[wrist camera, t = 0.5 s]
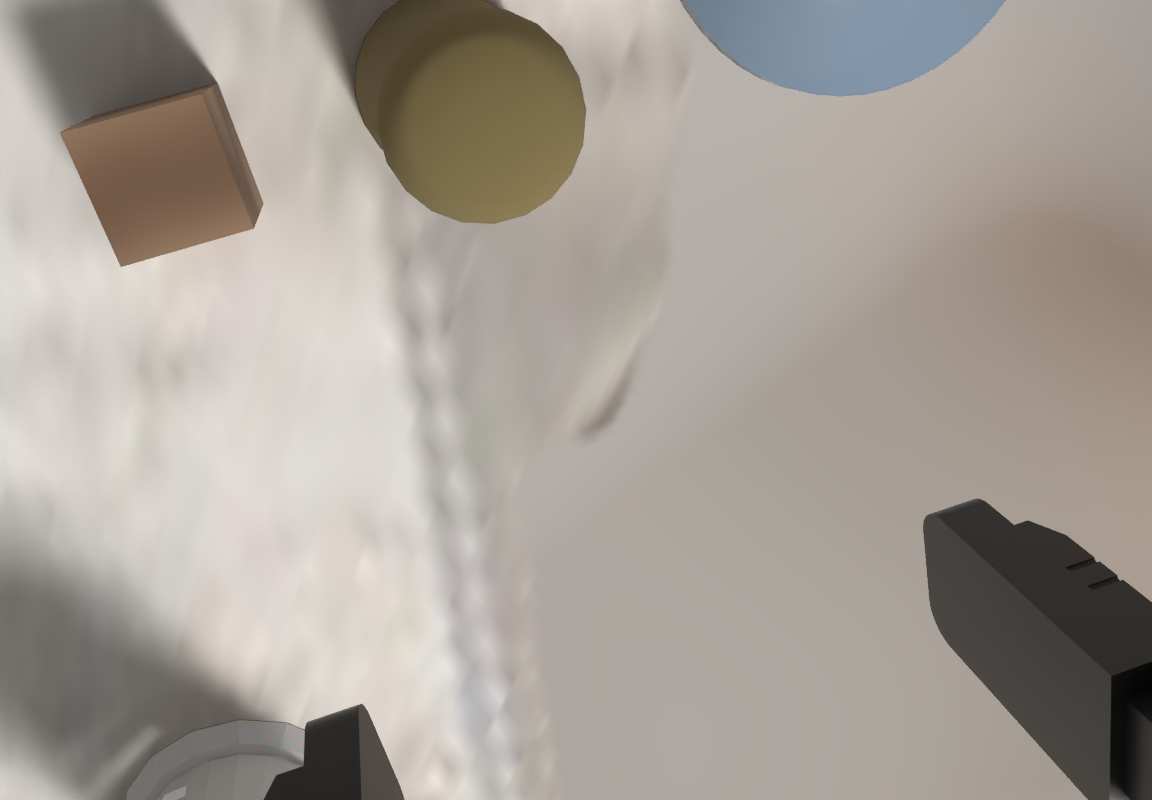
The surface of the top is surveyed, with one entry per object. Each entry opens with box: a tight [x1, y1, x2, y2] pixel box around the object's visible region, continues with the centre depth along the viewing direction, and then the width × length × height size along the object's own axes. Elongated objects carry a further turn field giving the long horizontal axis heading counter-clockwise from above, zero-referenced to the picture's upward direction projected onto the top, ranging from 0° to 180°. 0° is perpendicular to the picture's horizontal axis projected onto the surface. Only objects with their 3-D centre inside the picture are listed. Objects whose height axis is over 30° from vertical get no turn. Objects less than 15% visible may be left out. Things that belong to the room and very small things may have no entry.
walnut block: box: [60, 83, 263, 267], centre depth 31 cm, size 4×4×4 cm
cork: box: [355, 0, 586, 224], centre depth 28 cm, size 6×6×11 cm
